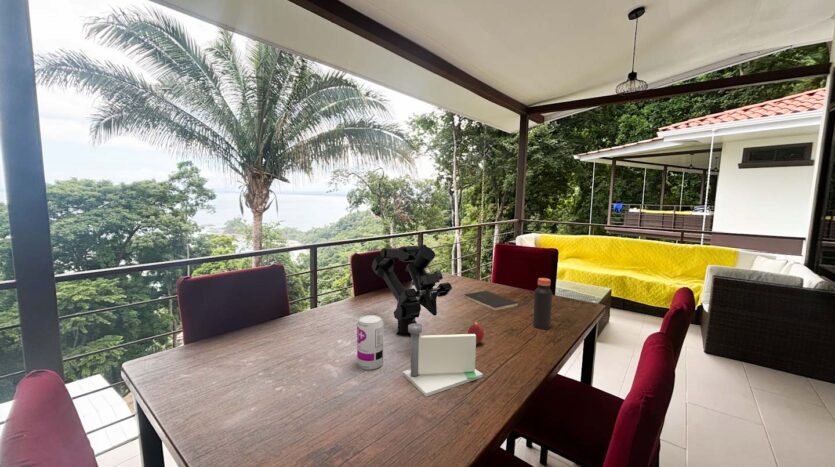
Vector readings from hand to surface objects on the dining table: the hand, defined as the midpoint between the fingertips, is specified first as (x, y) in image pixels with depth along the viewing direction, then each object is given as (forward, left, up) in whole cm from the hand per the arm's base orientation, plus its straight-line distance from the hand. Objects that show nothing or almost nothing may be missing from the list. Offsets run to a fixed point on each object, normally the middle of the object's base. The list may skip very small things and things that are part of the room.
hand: (435, 314), depth 116 cm
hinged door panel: (+6, -14, -12) cm, 20 cm away
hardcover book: (+11, +64, -14) cm, 67 cm away
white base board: (+7, -14, -13) cm, 20 cm away
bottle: (+35, +38, -14) cm, 54 cm away
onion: (+12, +12, -14) cm, 22 cm away
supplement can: (-17, -15, -14) cm, 26 cm away
